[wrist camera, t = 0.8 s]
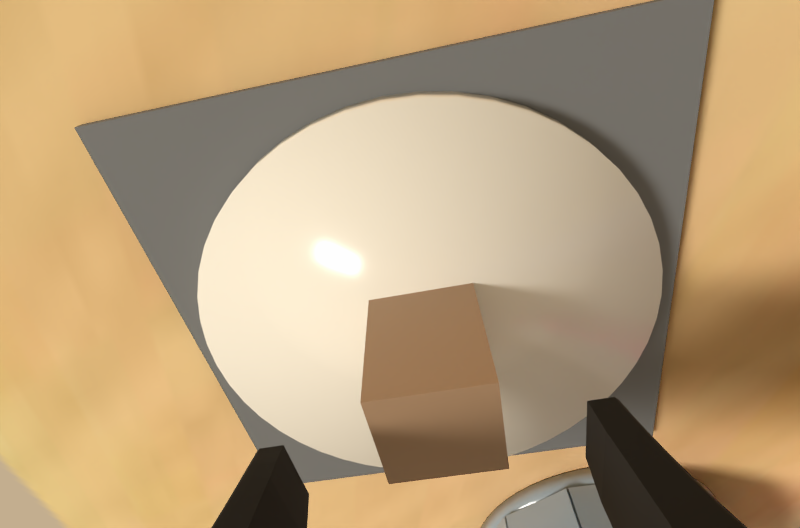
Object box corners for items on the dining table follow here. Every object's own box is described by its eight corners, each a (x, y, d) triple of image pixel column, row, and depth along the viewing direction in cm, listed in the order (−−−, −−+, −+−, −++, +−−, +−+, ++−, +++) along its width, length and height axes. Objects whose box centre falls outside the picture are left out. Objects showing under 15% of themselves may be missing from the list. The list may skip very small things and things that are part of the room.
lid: (675, 34, 11) (842, 67, 7) (633, 426, 18) (701, 553, 14) (119, 150, 12) (-19, 235, 8) (289, 472, 20) (262, 600, 16)
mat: (708, -12, 11) (715, -11, 10) (648, 430, 19) (652, 436, 19) (81, 124, 12) (74, 127, 12) (279, 480, 20) (277, 486, 20)
